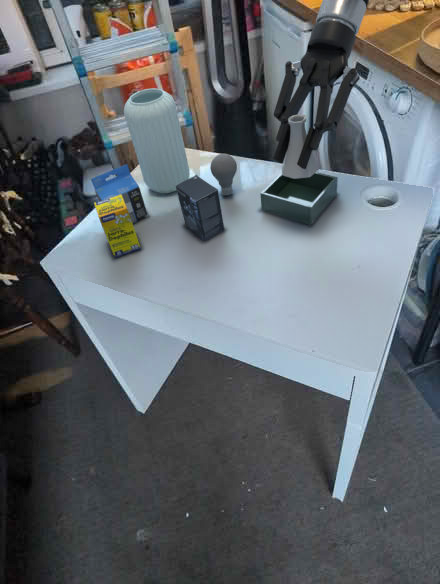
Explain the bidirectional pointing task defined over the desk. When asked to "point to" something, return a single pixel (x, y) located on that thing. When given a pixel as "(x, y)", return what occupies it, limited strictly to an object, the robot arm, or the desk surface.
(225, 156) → the light bulb
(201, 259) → the desk surface
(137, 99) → the vase
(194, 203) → the box
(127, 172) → the tape cartridge
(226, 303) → the desk surface
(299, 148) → the flask
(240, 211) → the desk surface
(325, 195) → the caddy
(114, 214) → the supplement box
